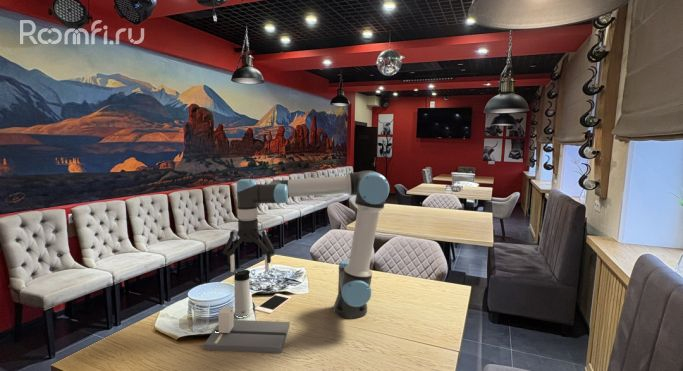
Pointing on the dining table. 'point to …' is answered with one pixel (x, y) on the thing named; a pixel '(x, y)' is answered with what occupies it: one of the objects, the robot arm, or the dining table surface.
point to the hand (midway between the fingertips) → (249, 270)
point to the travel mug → (242, 293)
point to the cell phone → (273, 303)
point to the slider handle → (226, 319)
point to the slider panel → (250, 337)
